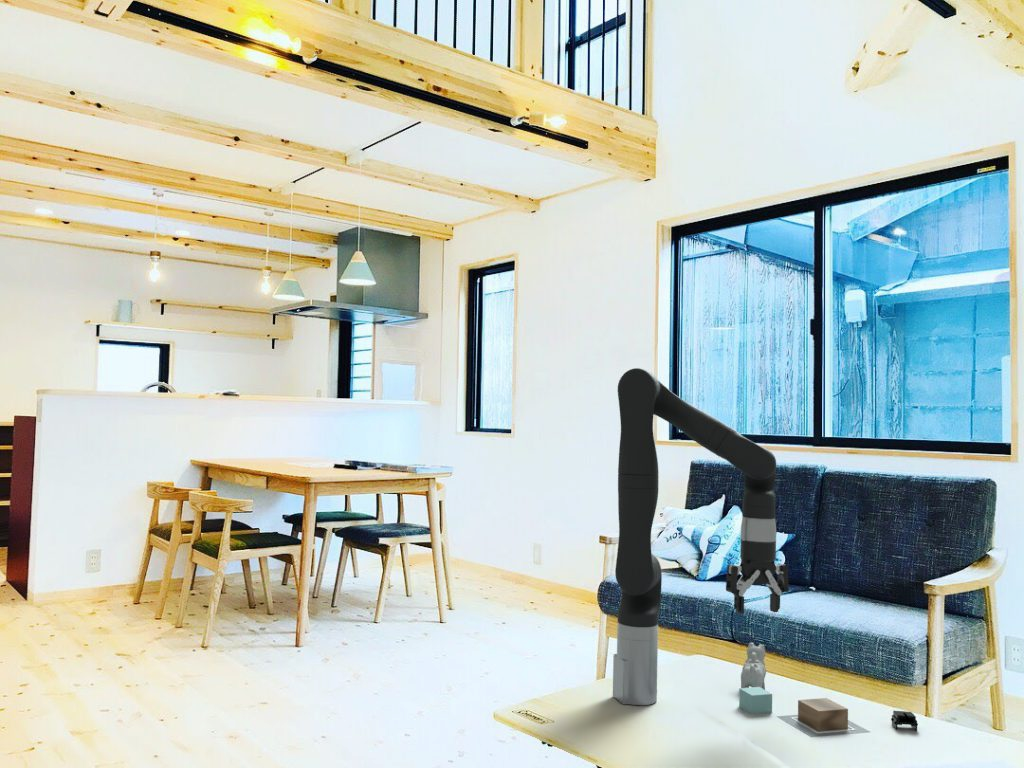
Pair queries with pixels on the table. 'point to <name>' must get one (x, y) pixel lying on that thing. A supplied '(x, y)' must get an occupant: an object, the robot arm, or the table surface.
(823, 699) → the walnut block
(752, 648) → the dog figurine
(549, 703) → the table surface
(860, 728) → the board
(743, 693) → the teal cube
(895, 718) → the black stepped block
